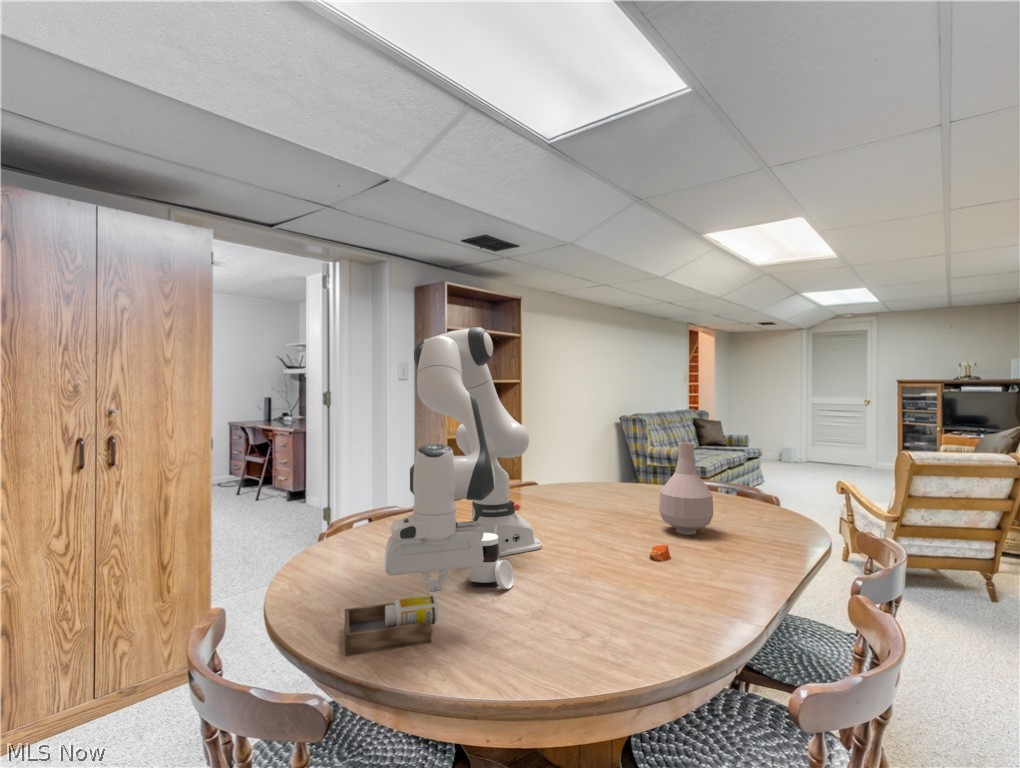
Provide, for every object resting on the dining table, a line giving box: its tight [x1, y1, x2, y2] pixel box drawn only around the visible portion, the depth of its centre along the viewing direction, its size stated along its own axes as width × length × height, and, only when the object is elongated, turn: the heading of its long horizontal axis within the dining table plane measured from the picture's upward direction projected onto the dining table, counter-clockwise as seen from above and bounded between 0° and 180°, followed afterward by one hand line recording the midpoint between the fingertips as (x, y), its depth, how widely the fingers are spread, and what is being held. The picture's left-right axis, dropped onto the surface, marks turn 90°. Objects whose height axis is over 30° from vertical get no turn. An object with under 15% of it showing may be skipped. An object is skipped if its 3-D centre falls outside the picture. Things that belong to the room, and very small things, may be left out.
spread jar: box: [469, 533, 515, 590], centre depth 132 cm, size 12×11×12 cm
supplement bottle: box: [385, 594, 439, 627], centre depth 107 cm, size 6×6×10 cm
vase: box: [658, 441, 714, 536], centre depth 177 cm, size 18×18×30 cm
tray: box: [344, 602, 432, 657], centre depth 105 cm, size 16×12×4 cm
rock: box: [648, 543, 671, 562], centre depth 151 cm, size 12×12×4 cm
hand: (434, 590), depth 108 cm, fingers closed
